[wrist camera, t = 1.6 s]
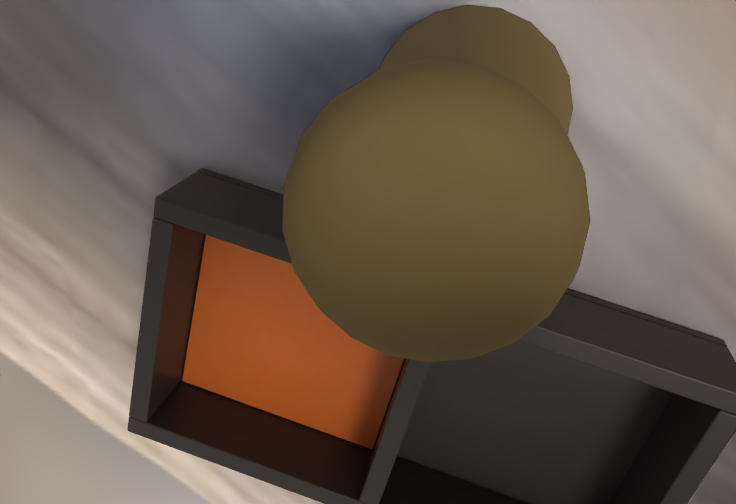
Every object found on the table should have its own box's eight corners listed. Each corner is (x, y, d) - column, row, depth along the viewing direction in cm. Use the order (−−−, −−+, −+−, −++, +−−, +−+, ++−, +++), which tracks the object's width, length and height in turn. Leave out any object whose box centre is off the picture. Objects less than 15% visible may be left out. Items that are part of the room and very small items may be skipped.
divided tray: (201, 167, 22) (154, 196, 19) (724, 340, 21) (757, 399, 18) (169, 381, 26) (126, 431, 23) (604, 538, 25) (615, 612, 22)
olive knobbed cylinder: (605, 37, 18) (712, 117, 8) (531, 229, 21) (543, 467, 11) (398, -20, 19) (261, -10, 9) (351, 174, 21) (205, 352, 11)
